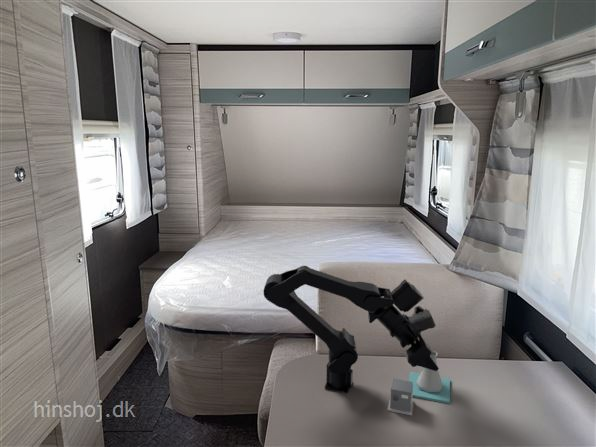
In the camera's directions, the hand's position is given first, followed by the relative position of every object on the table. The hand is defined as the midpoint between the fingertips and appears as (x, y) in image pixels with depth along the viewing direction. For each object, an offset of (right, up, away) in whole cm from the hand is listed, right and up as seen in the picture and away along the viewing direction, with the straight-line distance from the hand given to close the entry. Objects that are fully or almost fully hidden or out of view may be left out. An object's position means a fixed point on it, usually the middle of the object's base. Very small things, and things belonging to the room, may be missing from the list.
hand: (433, 360), depth 121 cm
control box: (-10, -10, -6) cm, 15 cm away
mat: (-1, -8, +2) cm, 8 cm away
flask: (-1, -8, +2) cm, 8 cm away
